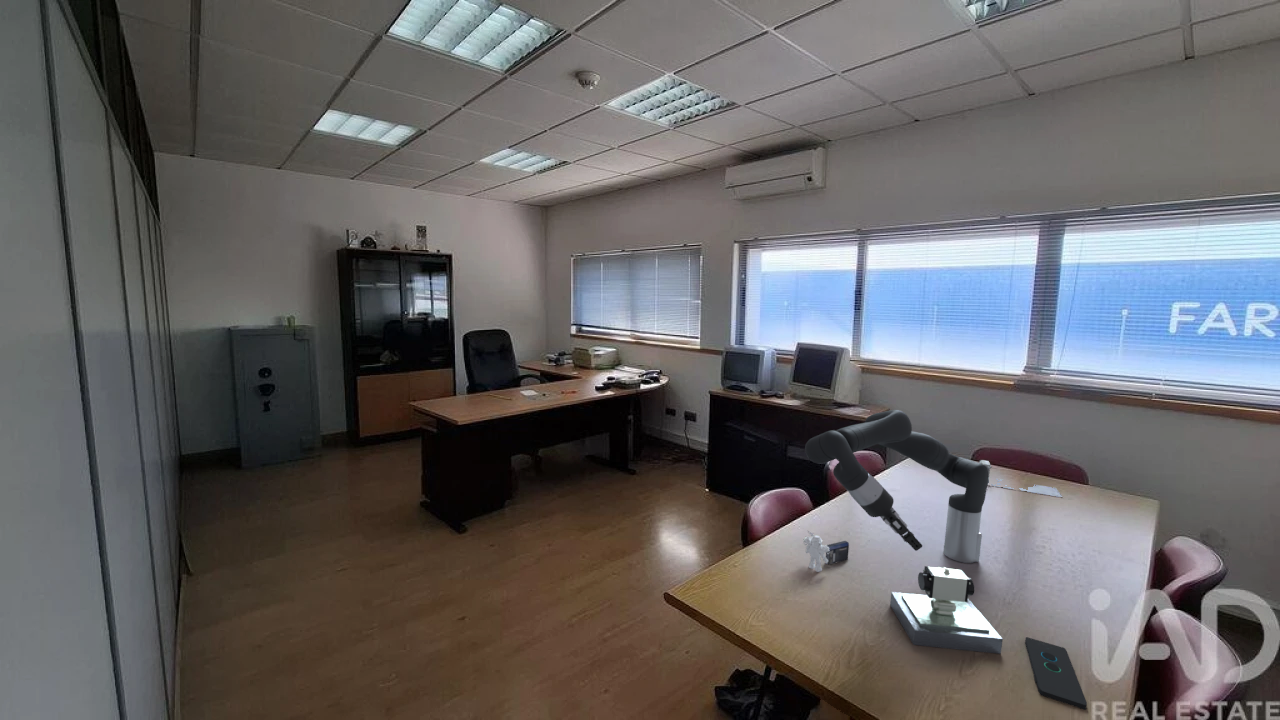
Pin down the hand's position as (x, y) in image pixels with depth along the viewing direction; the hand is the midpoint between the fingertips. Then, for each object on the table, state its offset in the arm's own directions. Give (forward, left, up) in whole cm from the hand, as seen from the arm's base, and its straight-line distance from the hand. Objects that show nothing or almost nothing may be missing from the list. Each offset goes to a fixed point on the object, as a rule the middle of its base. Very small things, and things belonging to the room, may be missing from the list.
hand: (911, 539), depth 127 cm
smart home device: (-28, +12, -24) cm, 39 cm away
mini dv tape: (+10, -30, -24) cm, 40 cm away
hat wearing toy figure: (+18, -24, -24) cm, 38 cm away
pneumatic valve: (-9, -1, -19) cm, 21 cm away
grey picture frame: (-9, 0, -24) cm, 26 cm away
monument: (-90, -113, -24) cm, 146 cm away
